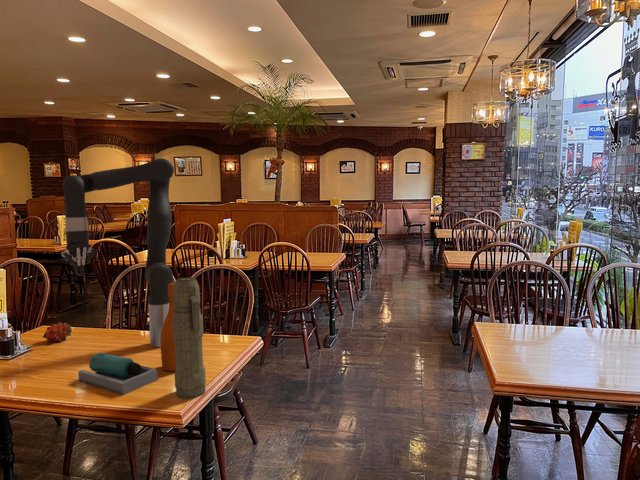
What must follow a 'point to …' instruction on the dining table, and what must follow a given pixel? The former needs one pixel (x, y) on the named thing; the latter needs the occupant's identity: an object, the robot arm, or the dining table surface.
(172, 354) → the wine bottle
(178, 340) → the thermos
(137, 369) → the beverage bottle
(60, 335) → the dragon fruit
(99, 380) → the U-rest
